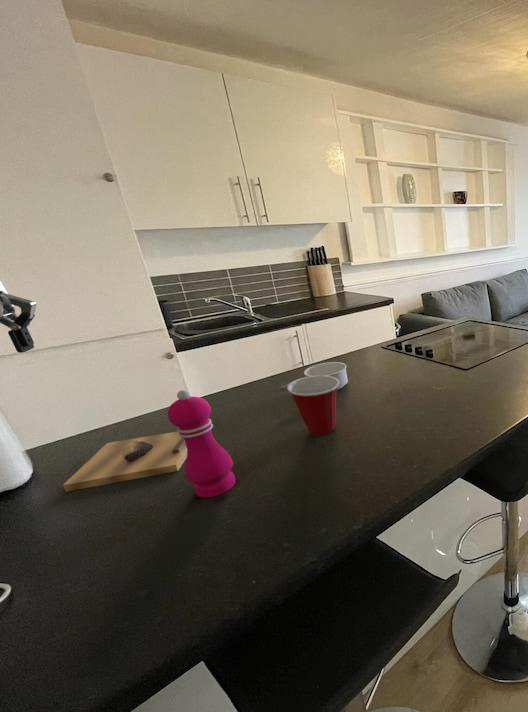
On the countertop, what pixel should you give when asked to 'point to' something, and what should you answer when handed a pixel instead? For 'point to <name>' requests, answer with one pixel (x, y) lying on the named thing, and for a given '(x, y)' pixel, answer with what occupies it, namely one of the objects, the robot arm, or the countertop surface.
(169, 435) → the serving board
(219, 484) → the pepper mill
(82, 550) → the countertop surface
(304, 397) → the plastic cup
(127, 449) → the brown rounded domed piece
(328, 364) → the saucepan
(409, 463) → the countertop surface
